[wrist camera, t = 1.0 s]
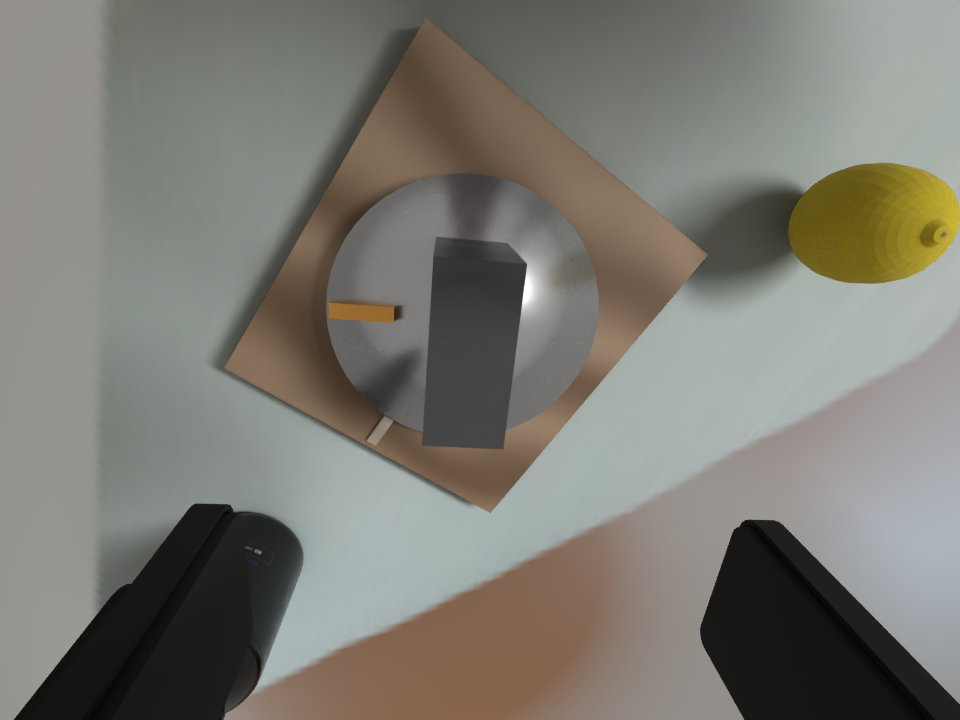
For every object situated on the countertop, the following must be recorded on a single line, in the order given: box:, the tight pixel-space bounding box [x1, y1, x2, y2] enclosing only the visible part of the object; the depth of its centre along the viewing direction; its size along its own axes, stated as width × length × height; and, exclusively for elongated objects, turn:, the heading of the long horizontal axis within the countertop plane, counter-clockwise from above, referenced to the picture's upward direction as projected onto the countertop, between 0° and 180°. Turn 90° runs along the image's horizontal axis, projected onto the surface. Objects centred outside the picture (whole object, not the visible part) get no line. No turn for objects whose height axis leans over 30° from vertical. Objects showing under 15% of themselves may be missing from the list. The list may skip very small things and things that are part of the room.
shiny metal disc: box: [326, 173, 599, 449], centre depth 22 cm, size 14×14×7 cm
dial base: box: [224, 18, 708, 513], centre depth 26 cm, size 20×18×2 cm
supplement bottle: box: [219, 513, 303, 720], centre depth 27 cm, size 7×7×12 cm
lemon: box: [788, 163, 960, 284], centre depth 23 cm, size 6×6×8 cm
